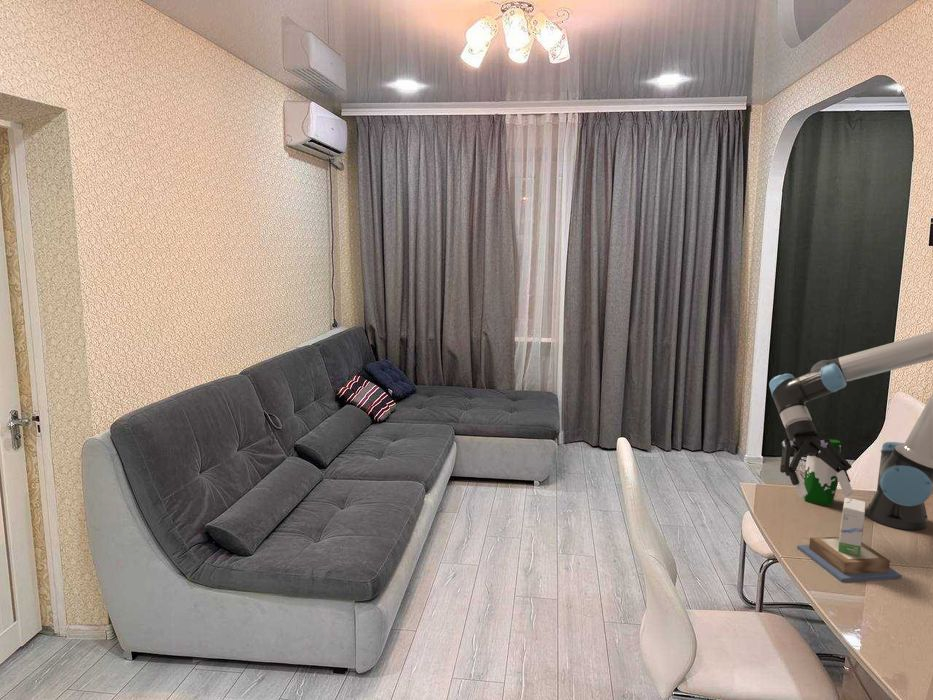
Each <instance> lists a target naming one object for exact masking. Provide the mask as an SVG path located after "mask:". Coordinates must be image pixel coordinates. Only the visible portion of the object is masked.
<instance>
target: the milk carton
mask: <svg viewBox="0 0 933 700" xmlns="http://www.w3.org/2000/svg"><path fill="white" fill-rule="evenodd" d="M828 439H829V440H830V442H831V443H832V445H833V446H834V447H835V448H836V450H837V451H838V452H839V453H840V454H841V449H842V448H841V447H842V445H841V441H840V440H839V439H833V438H828ZM820 452H821V451H820V450H819V452H818V453H820ZM804 470H805V471H804V472H805V473H804V481H803V483H804V485H805V488H806V490H807V493H808V494H807V495H806V496H804V497H803V498H804V499H803V500H804V502H808V503H812V504H815V505H821V506H826V507H830V506H831V505H832V503H833V502H834V499H835V495H836V491H837V487H838V482H839V481H838V478H837V476H836V474H837V473H838V472H836V471H835V470H834V469H833V468H831V467H830V466H829V465H828V464H826V463H825V462H824V461H823V460H821V459H820V458H817V457H816V456H806V461H805V469H804Z"/></svg>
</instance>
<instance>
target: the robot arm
mask: <svg viewBox="0 0 933 700" xmlns="http://www.w3.org/2000/svg"><path fill="white" fill-rule="evenodd" d="M929 361H933V331H929V332H925V333H923V334H922V333H921V334H919V335H914V336H911V337H908V338H904V339H900V340H897V341H894V342H890V343H886V344H883V345H879V346H876V347H871V348H869V349H864V350H862V351H861V350H860V351H857V352H854V353H850V354H847V355H843V356H839V357H836V358H833V359H827V360H826V359H824V360H820V361H818V362H816V363H815V364H813V365H812V367H811V369H810V371H809V372H807V373H805V374H803V375H800V376H798V377H795V376H794V375H793V374H791V373H784V374H779V375H776V376H773V378H771V380H770V381H769V383H768V386H769V390H770V393H771V398H772V399H773V401H774V403H775V406H776V408H777V411H778V415H779V417H780V419H781V422H782V424H783V425H782V426H784V427H783V428H785V432H786V435H787V438H785V439H784V440H783V441H782V442H781V443H780V446H781V449H782V450H781V451H782V452H781V459H780V466H779V467H780V468H779V472H780V473H782V474H784V473H785V476H786V477H789V478H790V481H791V484H792V485H793V486H795V489H796V491H797V494H798V497H799V498H800V499H803V498H804V496H806V495H807V494H808V493H807V490H806V488H805V485H804V481H803V478H802V475H801V473H800V471H799V470H798V471H796V470H797V469H798V466H799V463H800V462H801V459H802V457H807V456H816V457H817V458H820V459H821V460H823V461H824V462H825V463H826V464H828V465H829V466H830V467H831V468H833V469H834V470H835V471H836V472H838V473H837V474H836V476H837V478H838V481H837V482H838V483H839V485H840V488H841V490H842V493H843V495H844V498H849V496H852V494H854V490H853V488H852V486H851V479H850V477H849V473H848V472H847V471H848V470H850V469H852V465H851V463H850V462H848V460H847V459H846V458H845V457H844V456H843V455H842V454H841V452H840V453H839V452H838V451H837V450H836V448H835V447H834V446H833V445H832V443H831V442H830V440H829V439H830V438H829V437H826V438H825V439H822V440H821V439H820V438H818V431H817V429H816V426H815V424H814V422H813V421H812V420H813V419H812V417H811V413H810V411H809V409H808V408H807V404H806V403H808V402H811V401H813V400H816V399H818V398H821V397H823V396H827V395H830V394H832V393H836V392H838V391H840V390H841V389H844V388H846V386H847V382H851V381H854V380H858V379H863V378H867V377H870V376H875V375H878V374H881V373H882V374H883V373H886V372H890V371H893V370H897V369H902V368H906V367H909V366H912V365H913V366H914V365H916V364H922V363H924V362H925V363H926V362H929ZM792 448H793V449H794V450H795V452H794V454H793V457H792V459H791V452H792ZM819 450H820V451H821V452H820V453H818V452H819ZM880 453H881V455H880V462H879V468H878V477H877V486H876V491H875V493H874V494H873V497H872V498H871V499H872V500H871V502H870V503H869V504H868V506H867V511H866V514H867V517H868V518H870V519H871V520H873V521H874V522H876V523H879V524H881V525H883V526H884V525H885V526H887V527H891V528H895V529H902V530H908V531H909V530H910V531H913V530H914V531H917V530H924V529H926V528H927V527H928V523H929V517H928V515H927V510H926V505H925V502H926V501H927V500H928V499H930V496H931V495H932V492H933V392H932V393H931V395H930V397H929V398H928V400H927V402H926V404H925V406H924V407H923V410H922V411H921V414H919V417H918V419H917V420H916V422H915V424H914V426H913V428H912V429H911V431H910V432H909V435H908V437H907V439H906V440H905V441H904V442H899V441H898V442H897V441H885V442H884V443H883V444H882V447H881V449H880ZM790 461H791V462H790Z"/></svg>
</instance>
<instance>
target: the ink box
mask: <svg viewBox="0 0 933 700" xmlns="http://www.w3.org/2000/svg"><path fill="white" fill-rule="evenodd" d="M841 512H842V514H841V521H840V529H839V536H840V538H839V549H838V551H839V552H843V553H847V554H852V555H857V556H860V550H861V543H863V534H864V526H865V525H864V524H865V515H866V501H863V500H859V499H854V498H851V497H844V502H843V506H842V511H841Z"/></svg>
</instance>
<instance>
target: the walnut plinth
mask: <svg viewBox="0 0 933 700" xmlns="http://www.w3.org/2000/svg"><path fill="white" fill-rule="evenodd" d="M839 538H840V535H839V536H821V537H820V536H818V537H809V544H808V545H809V549H810V550H812V551H813V552H815V553H816V554H817V555H819V556H820V557H821V558H823V559H824V560H825V561H827V562H828V563H829V564H831V565H832V566H833V567H835V568H836V569H838V570H839V571H840V572H842V573H843V574H858V573H878V572H889V567H890V568H891V566H890V565H891V560H890V559H889V558H887V557H885V555H884V556H883V555H882V554H881V553H879V552H878V551H876V550H874V549H873V548H872V547H870V546H869V545H867V544H866V543H863V542H862V543H861V550H860V556H857V555H852V554H847V553H843V552H839V551H838V549H839Z"/></svg>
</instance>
